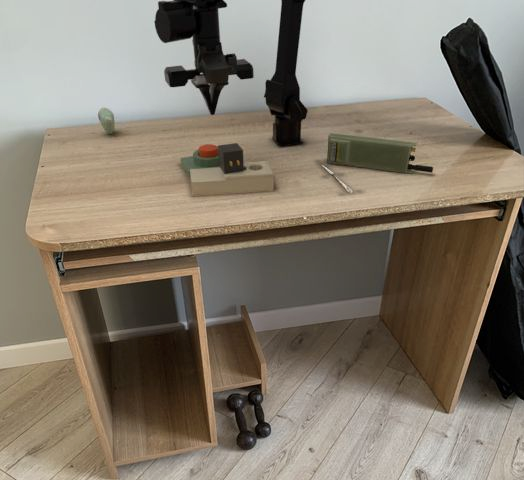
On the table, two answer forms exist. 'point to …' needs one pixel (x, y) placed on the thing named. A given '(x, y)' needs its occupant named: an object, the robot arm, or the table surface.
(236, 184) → the electrical outlet
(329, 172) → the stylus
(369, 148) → the handheld radio
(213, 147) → the switch button
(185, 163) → the switch box
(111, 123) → the pale green oval lump
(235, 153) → the charger head
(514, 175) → the table surface
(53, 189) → the table surface
